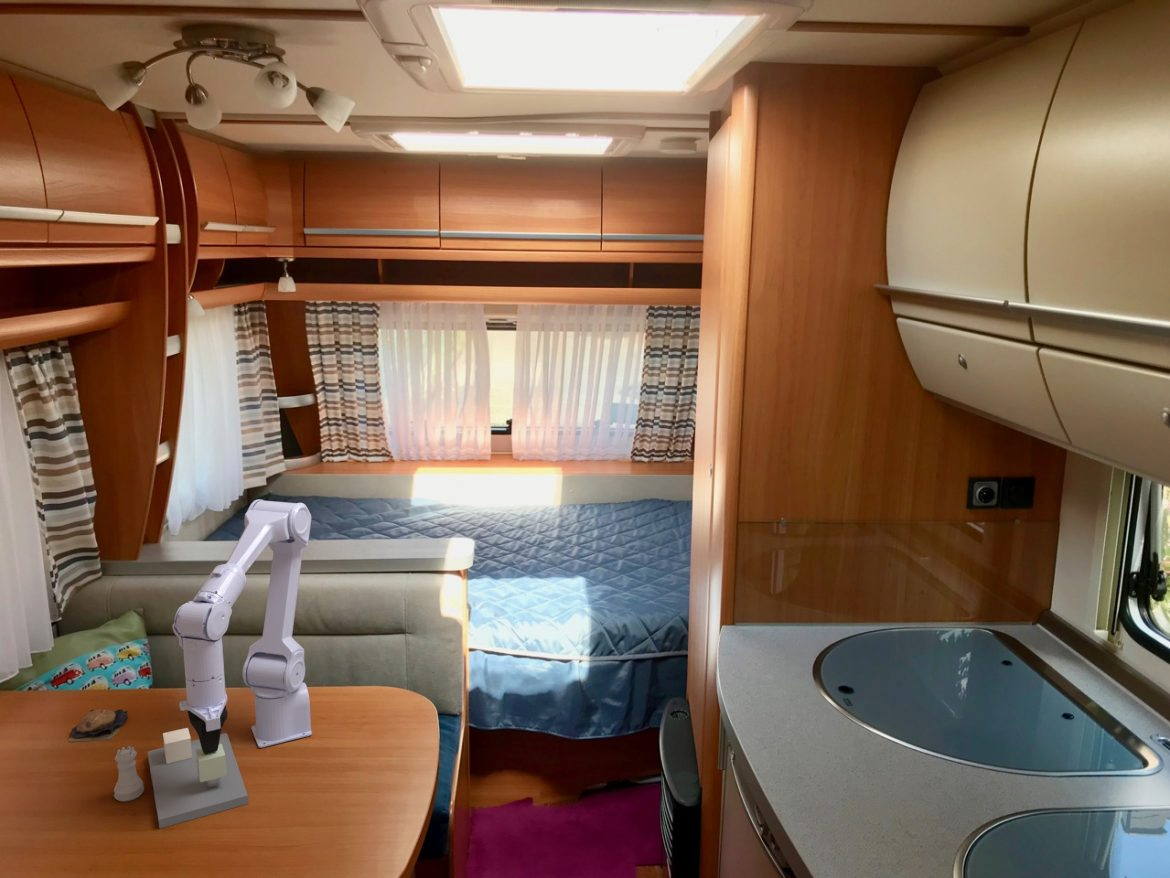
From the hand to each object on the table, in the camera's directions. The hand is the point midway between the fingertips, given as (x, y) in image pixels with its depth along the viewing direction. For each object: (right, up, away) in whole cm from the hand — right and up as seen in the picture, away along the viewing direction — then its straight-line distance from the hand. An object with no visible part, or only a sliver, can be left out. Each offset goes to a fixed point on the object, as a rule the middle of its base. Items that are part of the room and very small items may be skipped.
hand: (210, 750), depth 140 cm
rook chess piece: (-14, -8, 0) cm, 16 cm away
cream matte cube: (-10, -4, +9) cm, 14 cm away
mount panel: (-4, -7, +5) cm, 9 cm away
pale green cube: (0, -4, +1) cm, 4 cm away
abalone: (-30, -4, +21) cm, 37 cm away
